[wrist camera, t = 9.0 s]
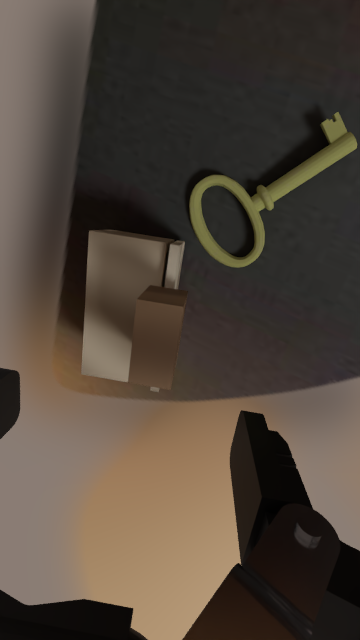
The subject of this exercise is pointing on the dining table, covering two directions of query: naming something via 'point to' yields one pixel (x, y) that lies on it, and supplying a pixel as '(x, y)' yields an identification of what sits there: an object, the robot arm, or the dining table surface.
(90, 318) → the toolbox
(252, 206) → the key
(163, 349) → the stacked wooden blocks
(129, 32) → the dining table surface
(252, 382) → the dining table surface
